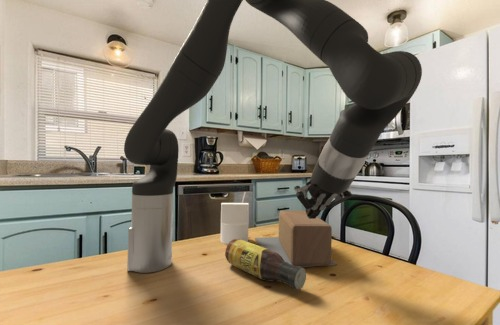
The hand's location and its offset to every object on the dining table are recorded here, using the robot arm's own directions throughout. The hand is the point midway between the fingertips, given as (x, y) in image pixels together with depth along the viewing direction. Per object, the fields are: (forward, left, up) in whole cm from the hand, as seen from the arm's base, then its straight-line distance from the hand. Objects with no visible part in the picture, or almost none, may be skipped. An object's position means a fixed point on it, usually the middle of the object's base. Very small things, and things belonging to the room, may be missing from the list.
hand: (310, 215), depth 57 cm
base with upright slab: (-15, +25, -13) cm, 32 cm away
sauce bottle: (-18, +7, -10) cm, 21 cm away
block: (+1, +1, -8) cm, 8 cm away
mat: (0, +14, -13) cm, 19 cm away
